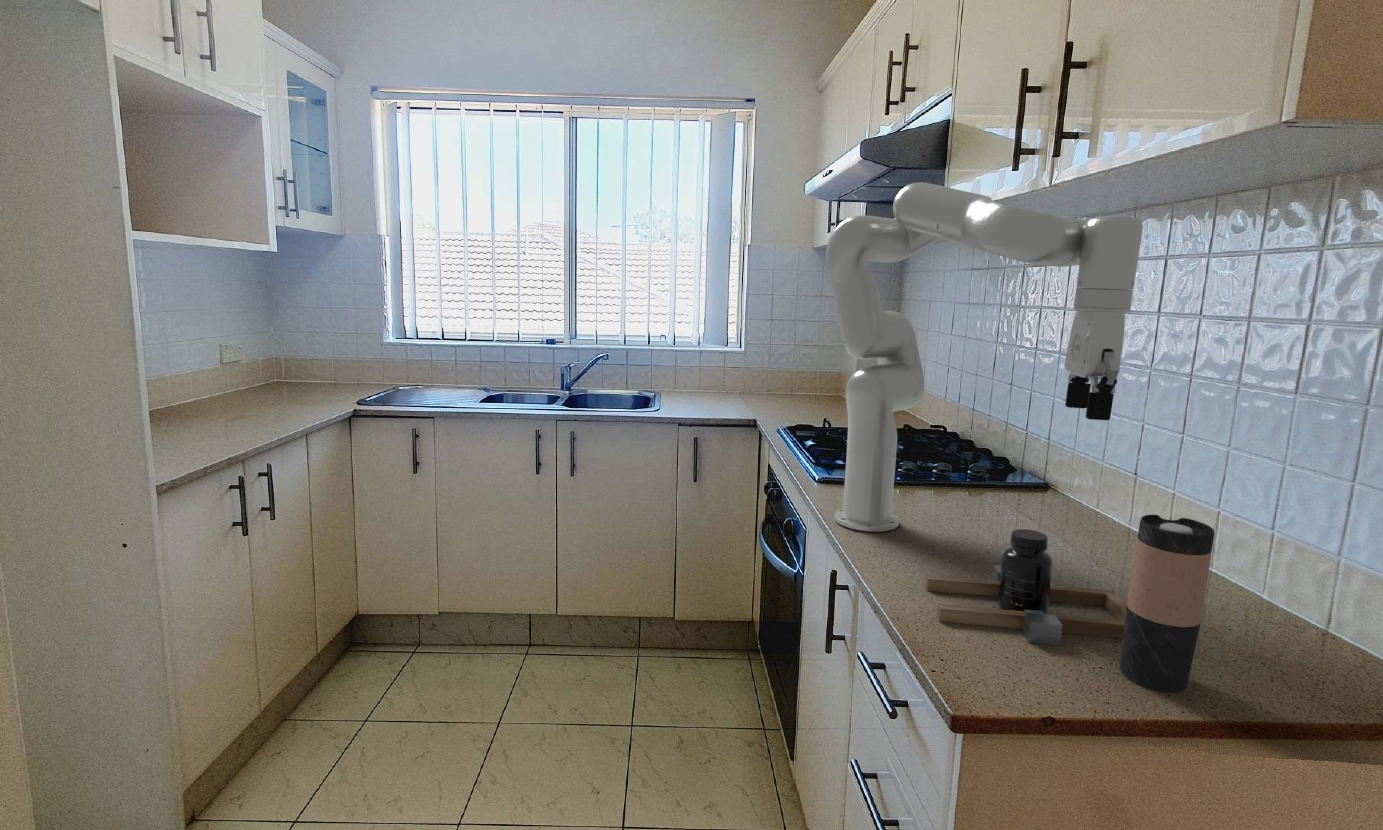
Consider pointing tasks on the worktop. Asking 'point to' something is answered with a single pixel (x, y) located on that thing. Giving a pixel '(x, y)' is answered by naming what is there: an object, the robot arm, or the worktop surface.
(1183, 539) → the travel mug
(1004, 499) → the worktop surface
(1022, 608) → the supplement bottle
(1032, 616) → the pivot blocks
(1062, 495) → the worktop surface
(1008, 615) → the walnut rails
